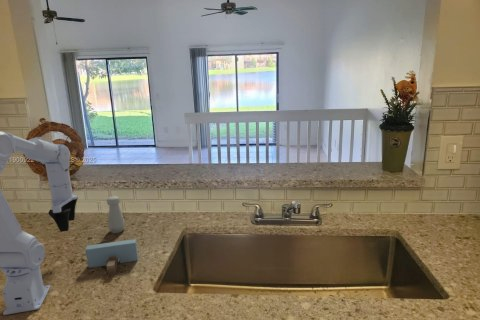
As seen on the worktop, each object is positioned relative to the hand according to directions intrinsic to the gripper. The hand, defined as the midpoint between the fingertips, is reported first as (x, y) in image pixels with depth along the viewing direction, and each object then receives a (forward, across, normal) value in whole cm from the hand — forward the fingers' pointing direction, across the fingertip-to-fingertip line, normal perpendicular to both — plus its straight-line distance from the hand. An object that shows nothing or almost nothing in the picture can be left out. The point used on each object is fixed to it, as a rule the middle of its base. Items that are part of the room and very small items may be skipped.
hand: (67, 225), depth 104 cm
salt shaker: (+11, +14, -12) cm, 21 cm away
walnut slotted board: (+10, -8, -13) cm, 19 cm away
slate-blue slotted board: (+10, -8, -13) cm, 19 cm away
